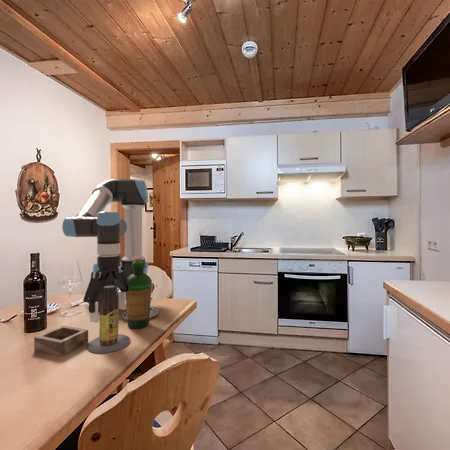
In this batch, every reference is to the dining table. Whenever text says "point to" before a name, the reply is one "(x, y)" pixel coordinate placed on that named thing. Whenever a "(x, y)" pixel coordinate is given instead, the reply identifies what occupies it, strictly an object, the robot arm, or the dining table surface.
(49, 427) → the dining table surface
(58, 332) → the open wooden box
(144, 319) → the bottle
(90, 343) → the slate trivet
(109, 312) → the sauce bottle
